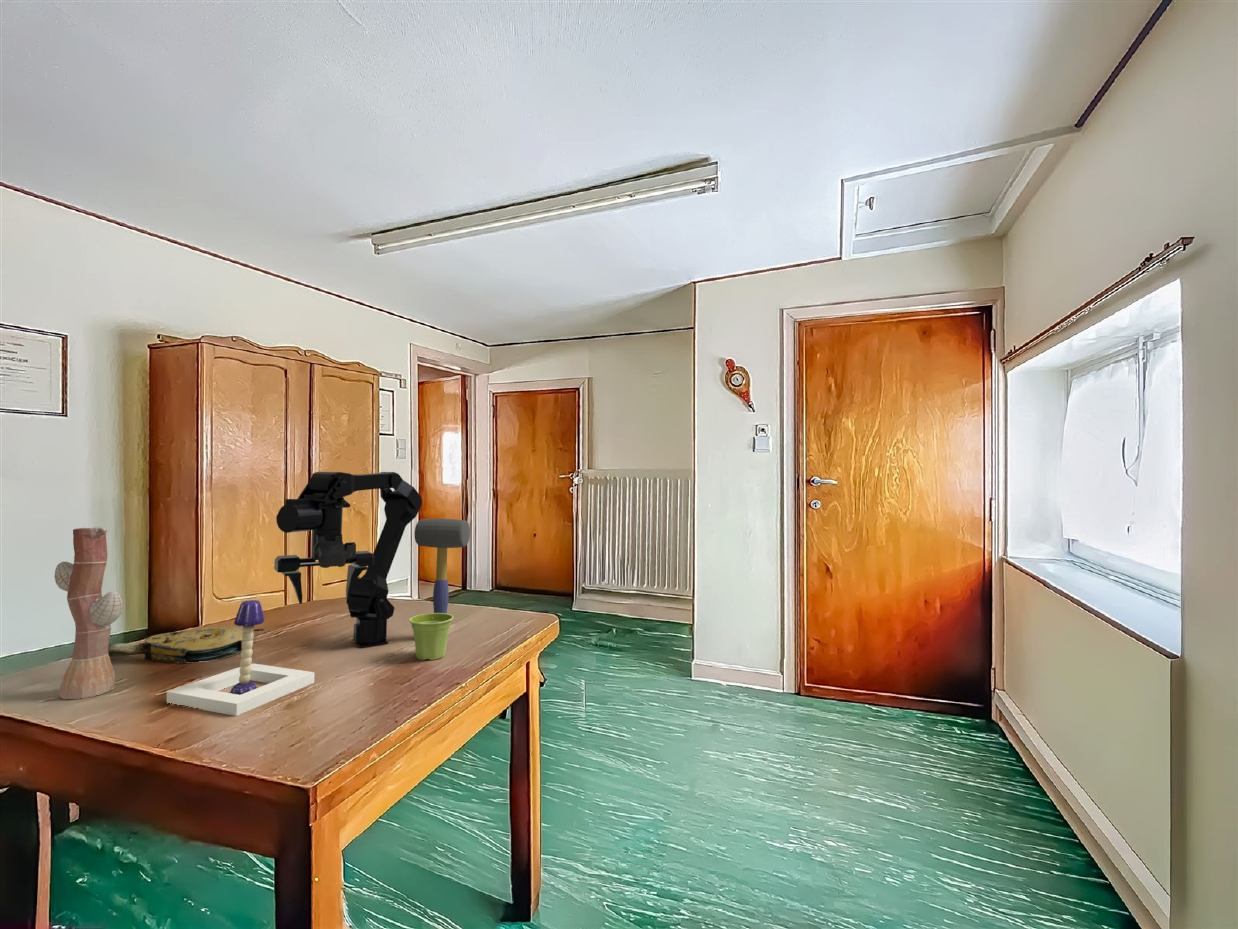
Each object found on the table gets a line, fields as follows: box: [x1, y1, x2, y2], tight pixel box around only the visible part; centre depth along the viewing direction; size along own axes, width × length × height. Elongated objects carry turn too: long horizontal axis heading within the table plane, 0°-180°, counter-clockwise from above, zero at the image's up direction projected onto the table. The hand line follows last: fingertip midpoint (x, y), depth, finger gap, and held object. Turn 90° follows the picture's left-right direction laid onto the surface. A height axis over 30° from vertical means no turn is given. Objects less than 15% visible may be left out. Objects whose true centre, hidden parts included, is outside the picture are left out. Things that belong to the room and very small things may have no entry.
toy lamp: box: [229, 599, 265, 695], centre depth 102 cm, size 5×5×17 cm
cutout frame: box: [166, 663, 315, 717], centre depth 102 cm, size 16×16×2 cm
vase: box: [53, 526, 124, 700], centre depth 101 cm, size 10×7×30 cm
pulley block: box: [108, 625, 265, 664], centre depth 122 cm, size 14×6×30 cm
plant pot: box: [408, 612, 454, 661], centre depth 125 cm, size 9×9×9 cm
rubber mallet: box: [414, 518, 471, 614], centre depth 140 cm, size 12×8×30 cm, turn 85°
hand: (324, 600), depth 120 cm, fingers open, 9 cm apart
